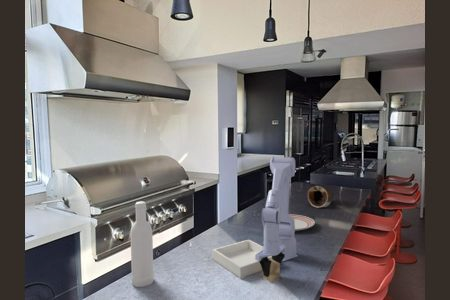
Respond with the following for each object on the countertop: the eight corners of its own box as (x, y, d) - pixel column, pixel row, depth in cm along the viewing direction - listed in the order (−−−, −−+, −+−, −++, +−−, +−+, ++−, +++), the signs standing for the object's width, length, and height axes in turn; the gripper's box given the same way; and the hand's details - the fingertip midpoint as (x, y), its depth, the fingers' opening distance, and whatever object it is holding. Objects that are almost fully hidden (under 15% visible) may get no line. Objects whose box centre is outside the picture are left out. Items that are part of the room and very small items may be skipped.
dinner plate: (258, 229, 167) (259, 223, 167) (274, 216, 192) (274, 211, 191) (308, 237, 155) (309, 231, 154) (319, 222, 179) (319, 217, 179)
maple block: (271, 273, 117) (271, 259, 116) (279, 278, 113) (279, 263, 113) (262, 277, 114) (262, 262, 114) (270, 282, 111) (270, 266, 110)
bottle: (154, 275, 116) (152, 199, 114) (153, 286, 108) (151, 204, 106) (133, 277, 115) (130, 200, 112) (130, 288, 107) (127, 205, 104)
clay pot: (338, 186, 226) (327, 185, 206) (339, 206, 223) (328, 208, 203) (318, 186, 234) (306, 185, 214) (319, 206, 232) (307, 207, 212)
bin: (248, 248, 141) (248, 239, 140) (279, 264, 124) (279, 254, 124) (212, 259, 130) (212, 249, 129) (240, 278, 113) (240, 267, 113)
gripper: (276, 231, 120) (276, 264, 121) (249, 240, 111) (249, 275, 112) (290, 236, 114) (290, 271, 116) (263, 246, 106) (262, 283, 107)
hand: (271, 273), depth 114 cm, fingers closed on maple block, 5 cm apart
